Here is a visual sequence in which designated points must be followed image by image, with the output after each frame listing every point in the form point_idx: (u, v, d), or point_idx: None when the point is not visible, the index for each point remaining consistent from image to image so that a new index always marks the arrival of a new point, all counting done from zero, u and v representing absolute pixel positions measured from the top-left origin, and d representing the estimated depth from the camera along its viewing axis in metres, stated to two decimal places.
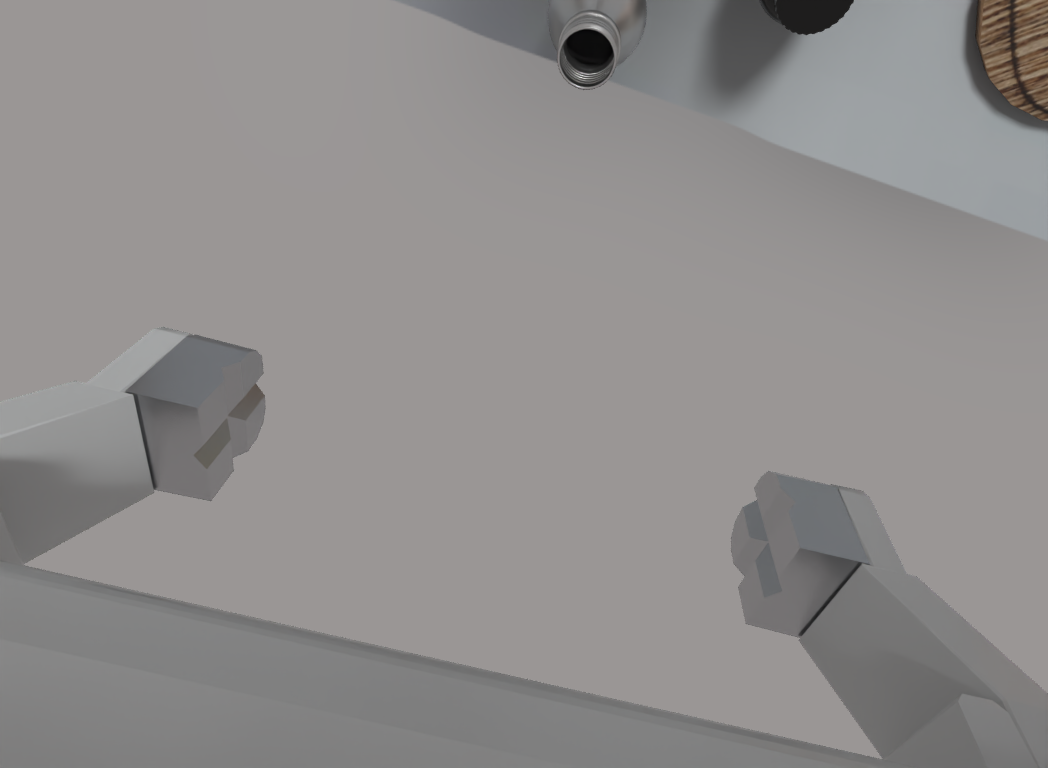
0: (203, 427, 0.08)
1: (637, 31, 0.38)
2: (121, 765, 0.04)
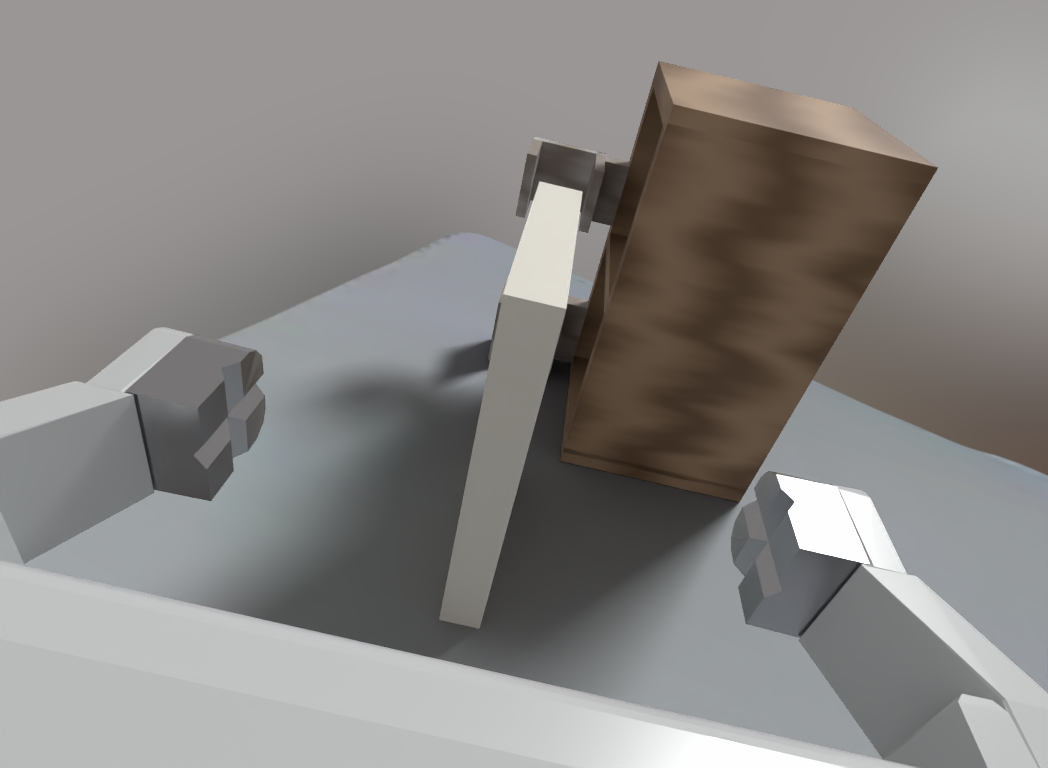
0: (203, 427, 0.08)
1: None
2: (121, 765, 0.04)
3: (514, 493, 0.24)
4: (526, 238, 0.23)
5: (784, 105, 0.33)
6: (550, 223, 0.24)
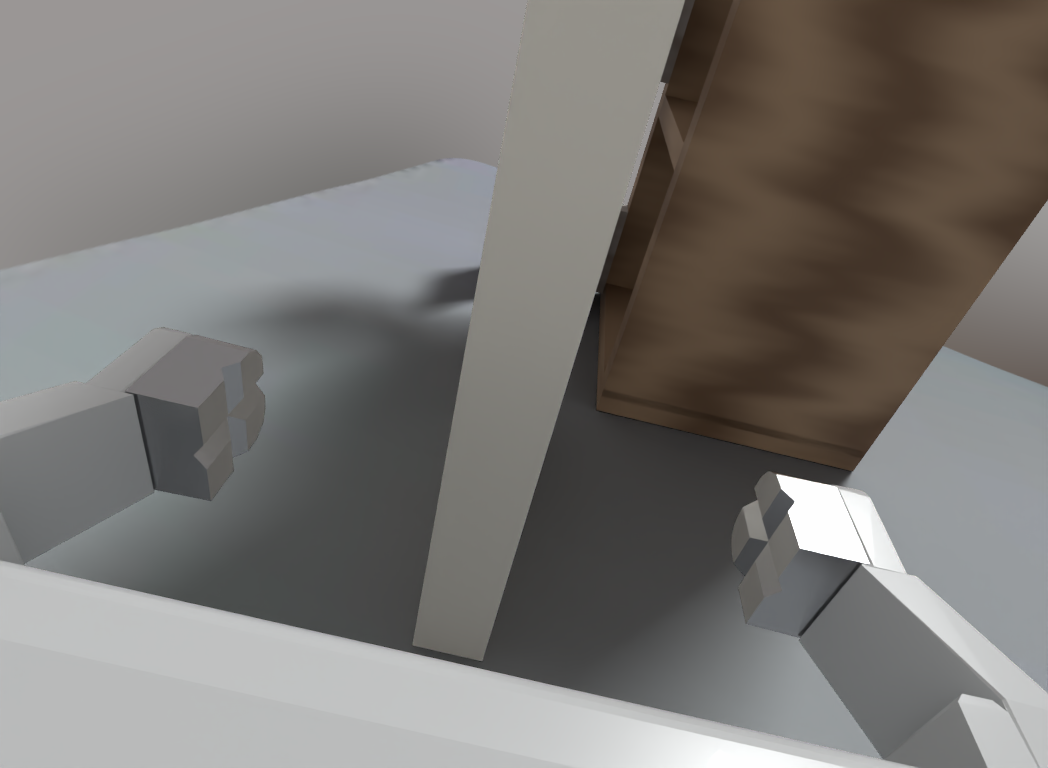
0: (203, 427, 0.08)
1: None
2: (121, 765, 0.04)
3: (561, 390, 0.12)
4: None
5: None
6: None
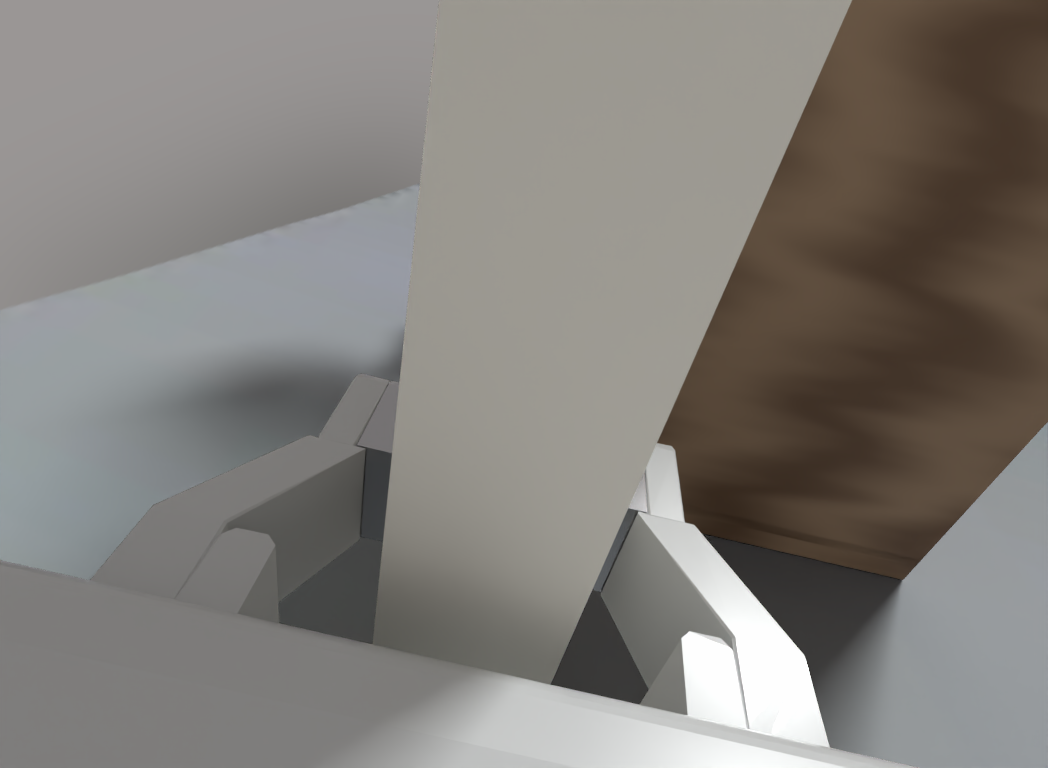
0: None
1: None
2: (121, 765, 0.04)
3: None
4: None
5: None
6: None
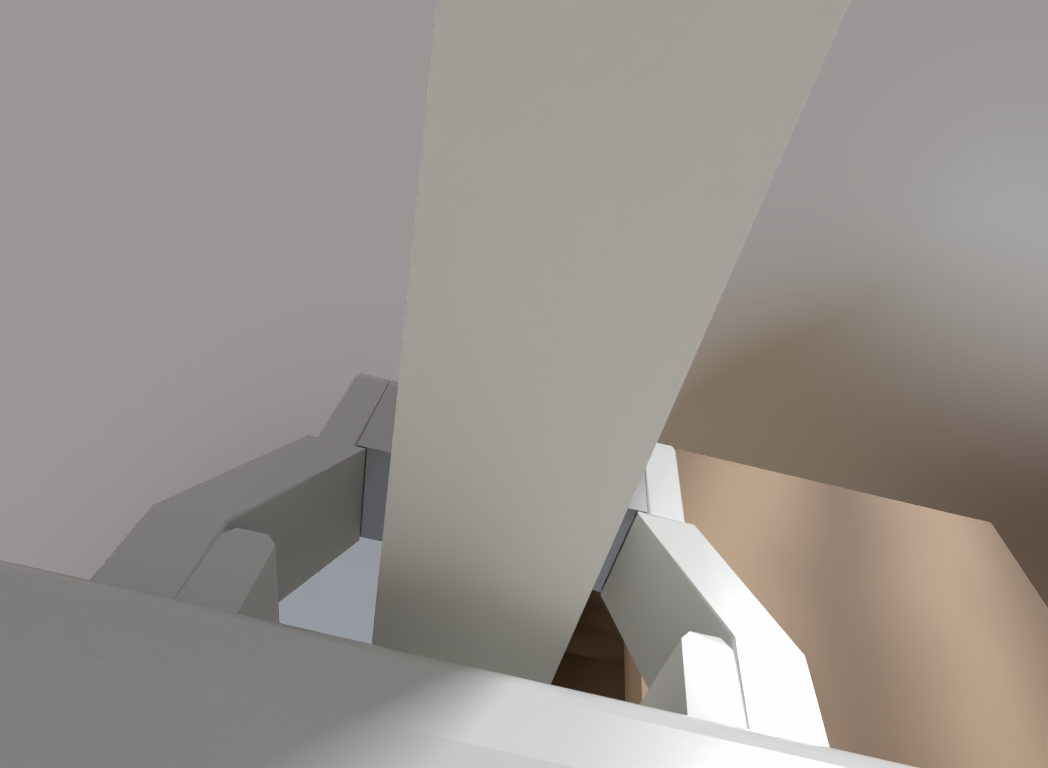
0: None
1: None
2: (121, 765, 0.04)
3: None
4: None
5: (887, 628, 0.16)
6: None
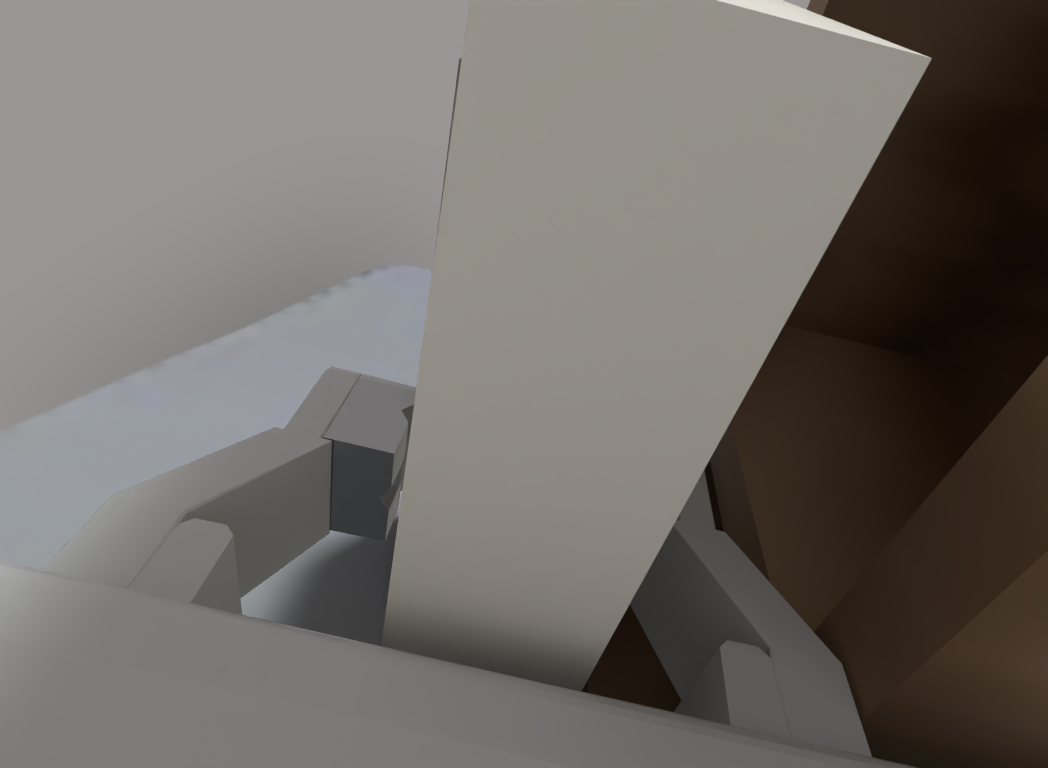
0: None
1: None
2: (121, 765, 0.04)
3: None
4: None
5: None
6: None
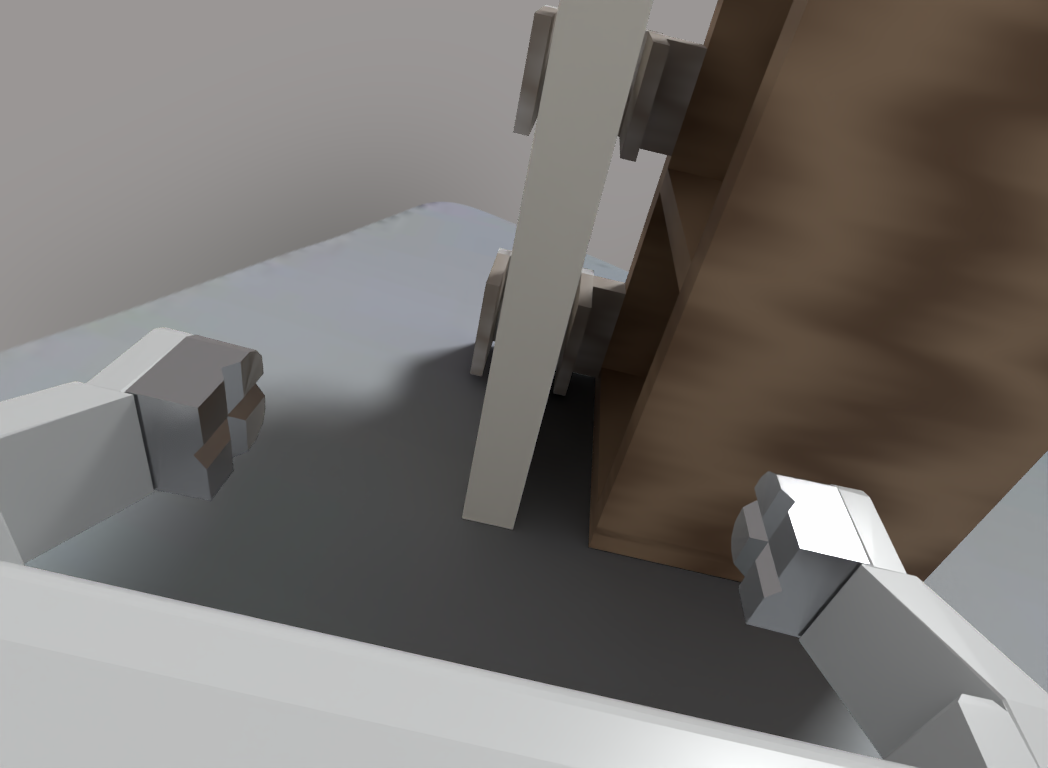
0: (203, 427, 0.08)
1: None
2: (122, 765, 0.04)
3: (567, 313, 0.18)
4: None
5: None
6: None
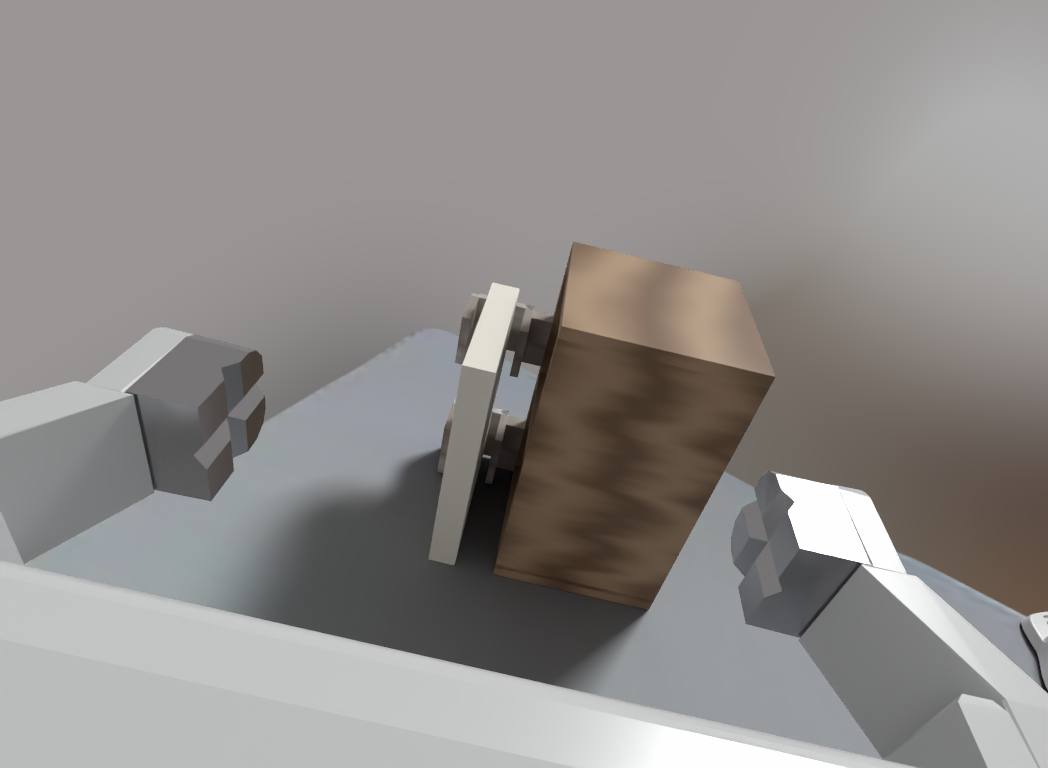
0: (203, 427, 0.08)
1: None
2: (121, 765, 0.04)
3: (472, 475, 0.41)
4: (479, 327, 0.39)
5: (669, 297, 0.39)
6: (494, 315, 0.41)
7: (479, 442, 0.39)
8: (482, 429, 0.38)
